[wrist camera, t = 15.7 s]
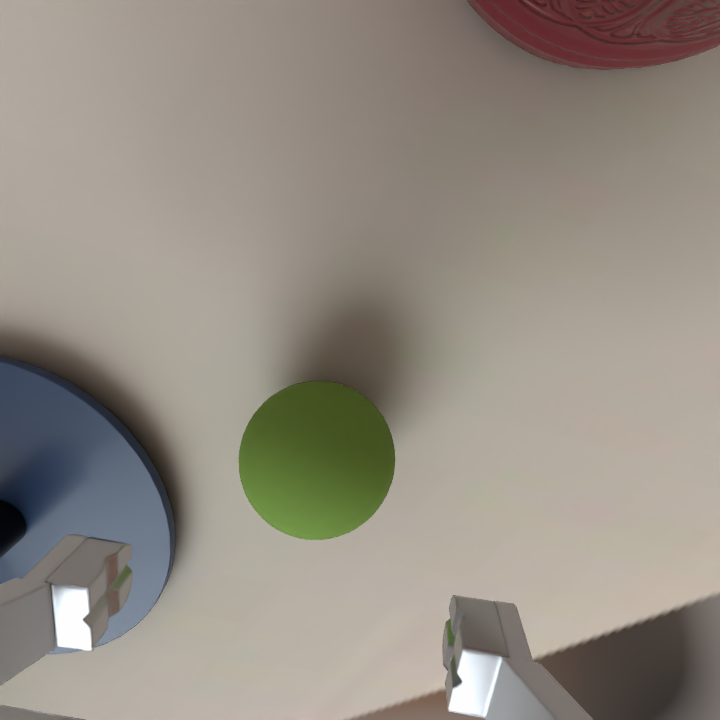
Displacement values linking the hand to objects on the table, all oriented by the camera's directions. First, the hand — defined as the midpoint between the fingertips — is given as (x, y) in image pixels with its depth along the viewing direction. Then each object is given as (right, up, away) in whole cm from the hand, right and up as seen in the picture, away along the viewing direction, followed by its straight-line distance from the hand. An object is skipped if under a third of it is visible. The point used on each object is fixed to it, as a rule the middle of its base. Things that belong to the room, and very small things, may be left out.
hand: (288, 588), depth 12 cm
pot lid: (-14, -1, +10) cm, 17 cm away
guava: (0, +2, +5) cm, 6 cm away
